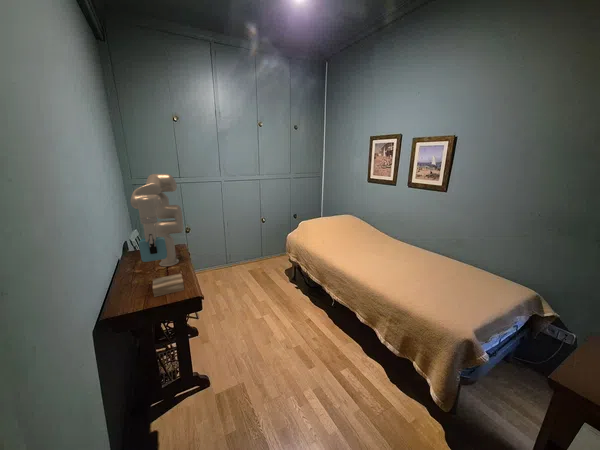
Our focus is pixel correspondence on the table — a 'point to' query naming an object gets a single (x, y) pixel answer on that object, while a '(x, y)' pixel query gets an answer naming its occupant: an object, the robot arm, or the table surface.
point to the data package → (146, 250)
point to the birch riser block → (167, 284)
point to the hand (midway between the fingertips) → (154, 251)
